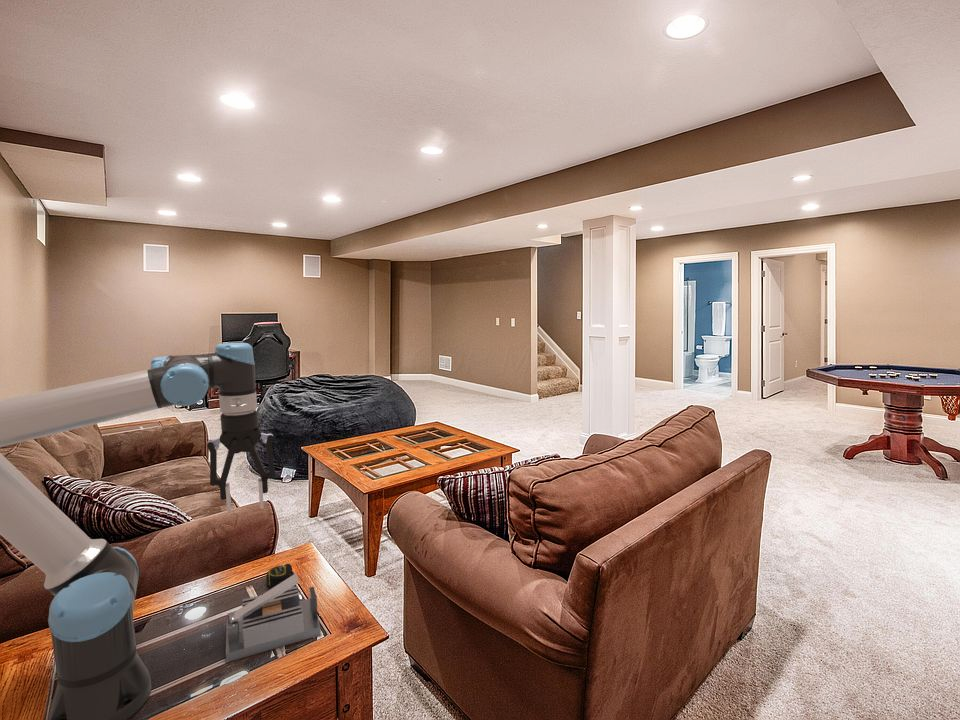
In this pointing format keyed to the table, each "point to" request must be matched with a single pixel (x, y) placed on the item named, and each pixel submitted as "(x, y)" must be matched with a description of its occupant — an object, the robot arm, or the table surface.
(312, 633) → the heatsink
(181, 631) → the table surface
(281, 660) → the table surface
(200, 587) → the table surface
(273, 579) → the tape measure
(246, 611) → the grey flat bar
